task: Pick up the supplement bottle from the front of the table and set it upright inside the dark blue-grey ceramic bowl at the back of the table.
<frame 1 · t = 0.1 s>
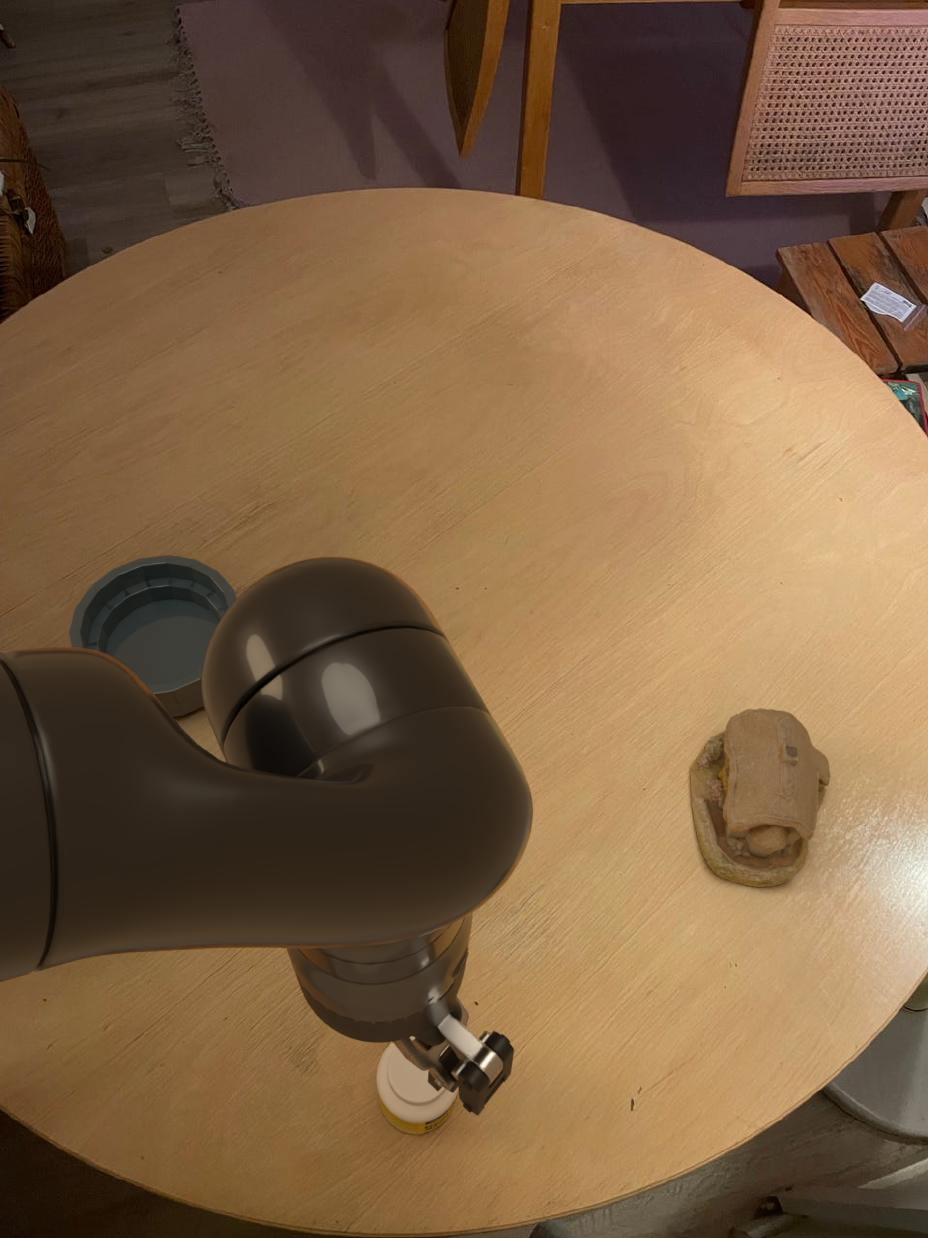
hand: (387, 1015, 56), 20 cm above the table, tool pointing down, fingers open, 8 cm apart
bowl: (167, 653, 91), on the table
supplement bottle: (417, 1094, 72), on the table
ceramic model: (754, 807, 85), on the table
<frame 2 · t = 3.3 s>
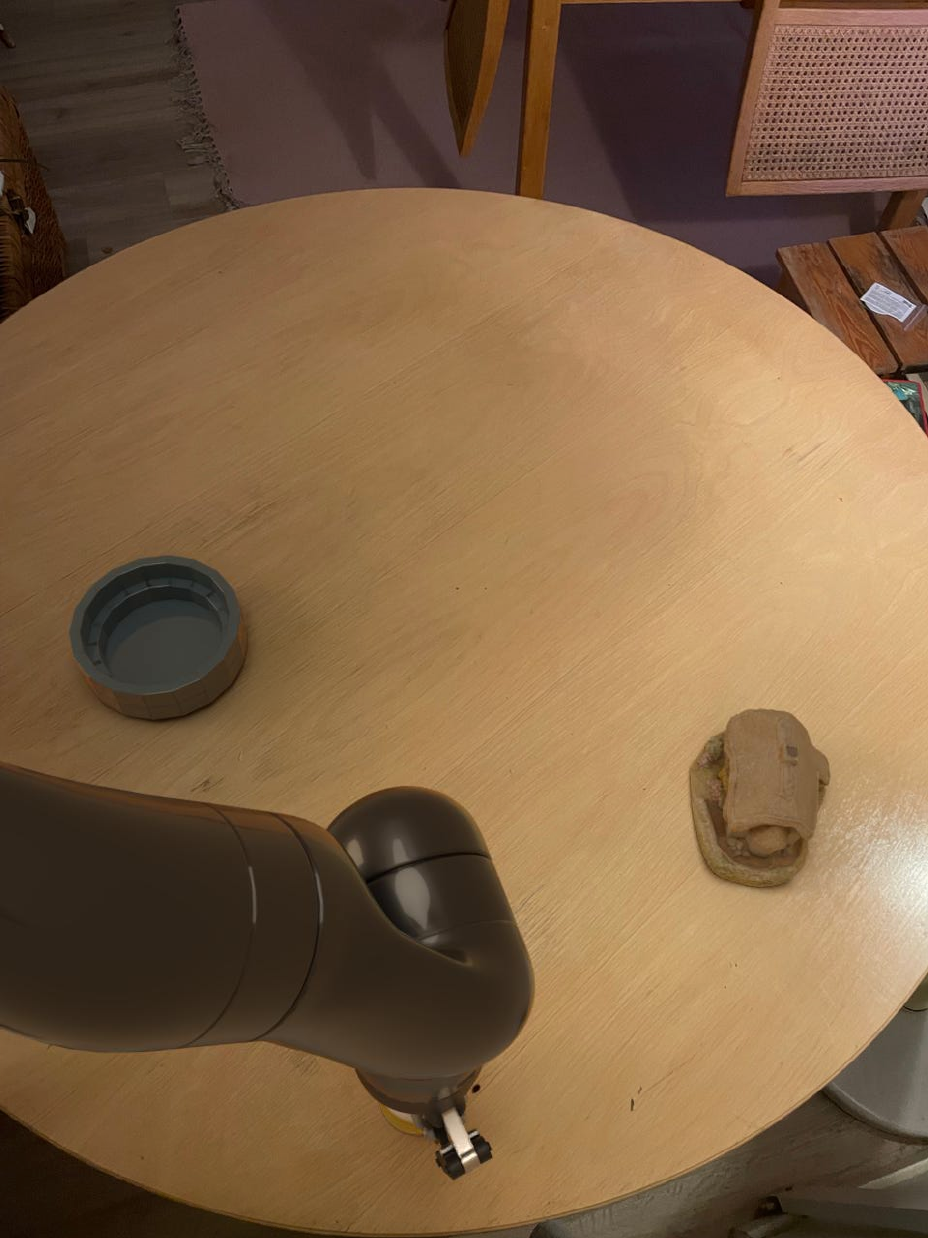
hand: (418, 1080, 67), 5 cm above the table, tool pointing down, fingers closed on supplement bottle, 5 cm apart
supplement bottle: (417, 1094, 72), on the table, touching gripper
everything else where it was.
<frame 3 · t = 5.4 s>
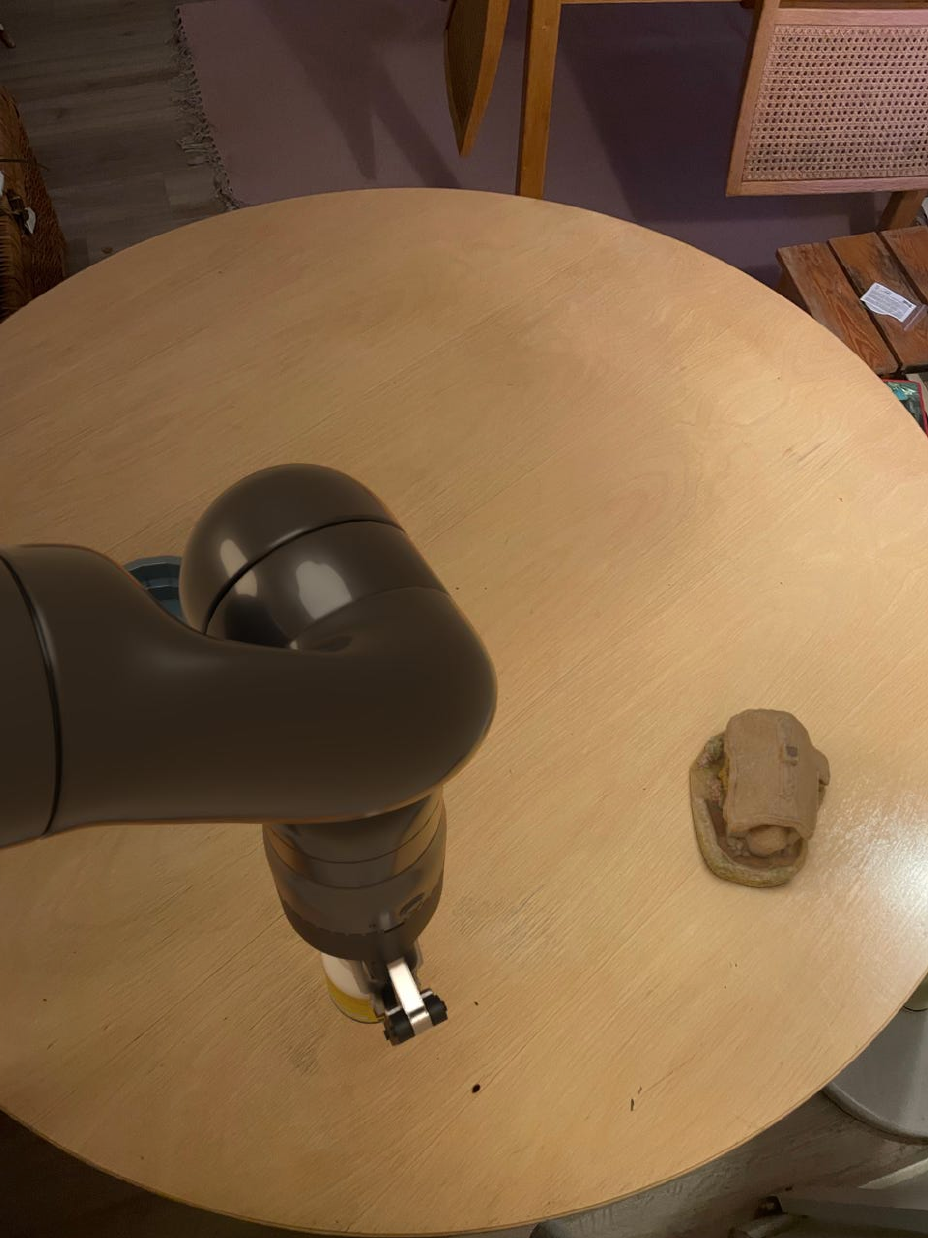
hand: (370, 955, 58), 19 cm above the table, tool pointing down, fingers closed on supplement bottle, 5 cm apart
supplement bottle: (373, 981, 63), point 14 cm above the table, touching gripper
everything else where it was.
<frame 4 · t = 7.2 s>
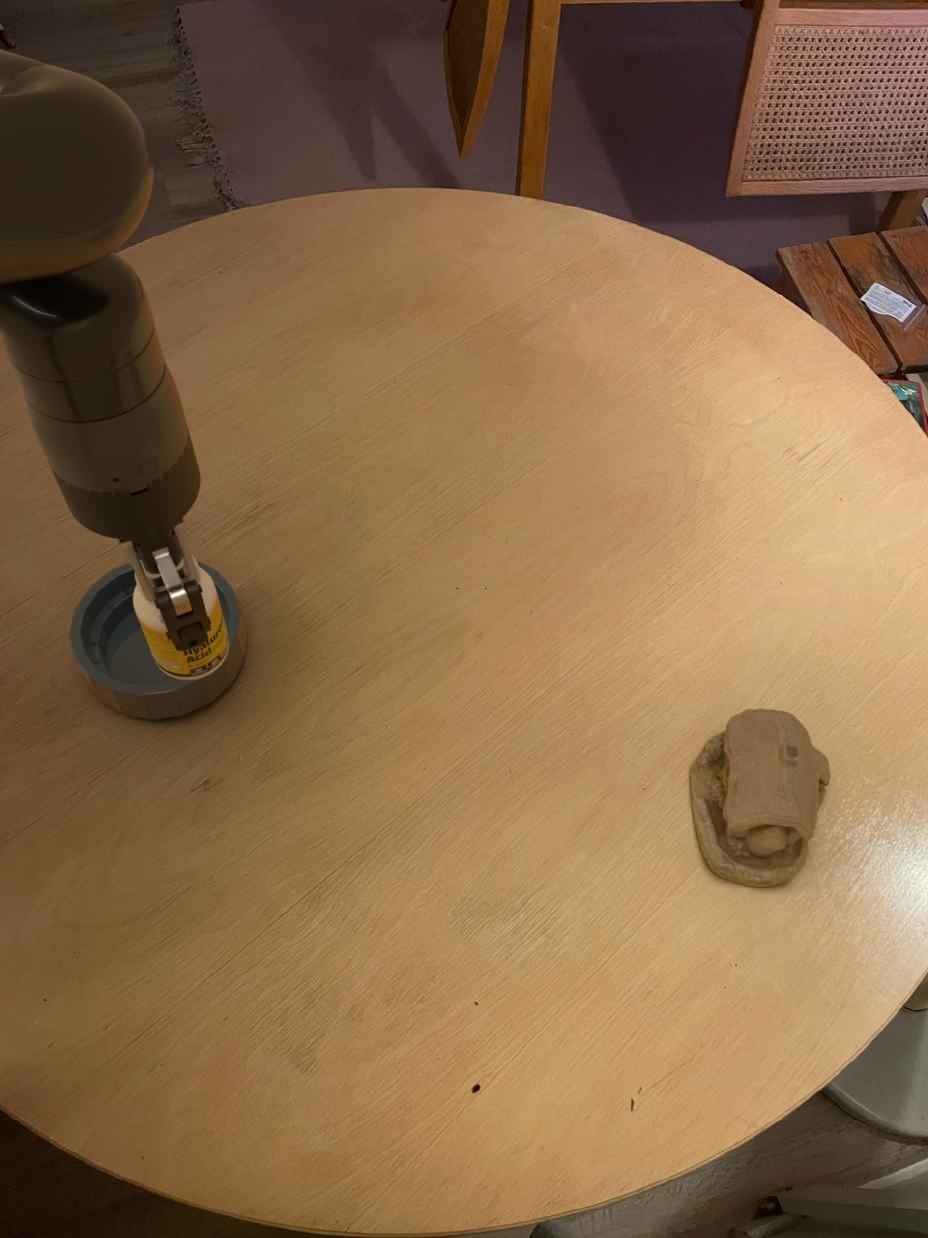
hand: (177, 607, 70), 20 cm above the table, tool pointing down, fingers closed on supplement bottle, 5 cm apart
supplement bottle: (193, 651, 74), point 14 cm above the table, touching gripper
everything else where it was.
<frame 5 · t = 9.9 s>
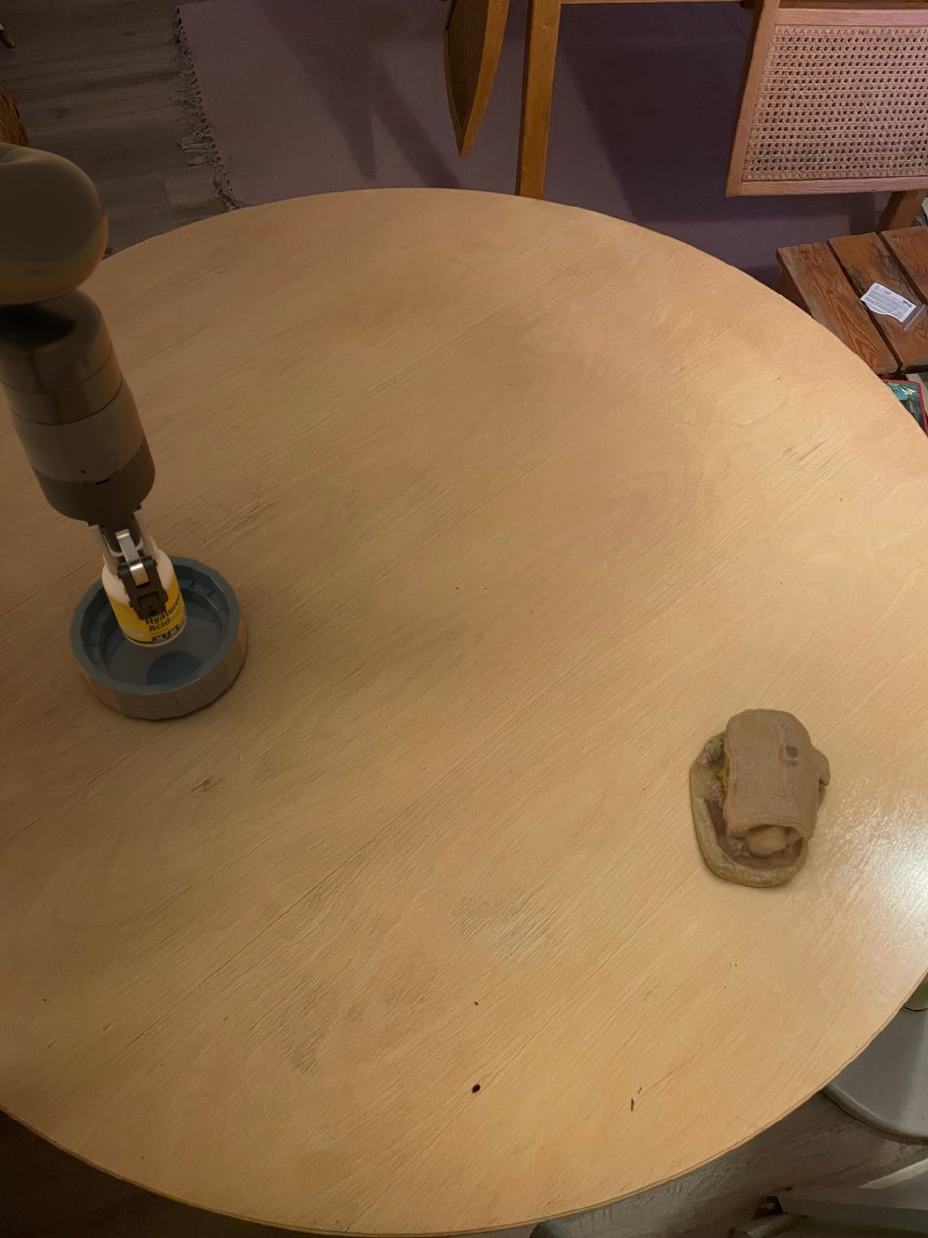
hand: (140, 584, 82), 11 cm above the table, tool pointing down, fingers closed on supplement bottle, 5 cm apart
supplement bottle: (155, 623, 86), point 5 cm above the table, touching gripper
everything else where it was.
when the fingers open (6 cm above the table, at t = 11.5 s): supplement bottle stays where it is, resting on bowl.
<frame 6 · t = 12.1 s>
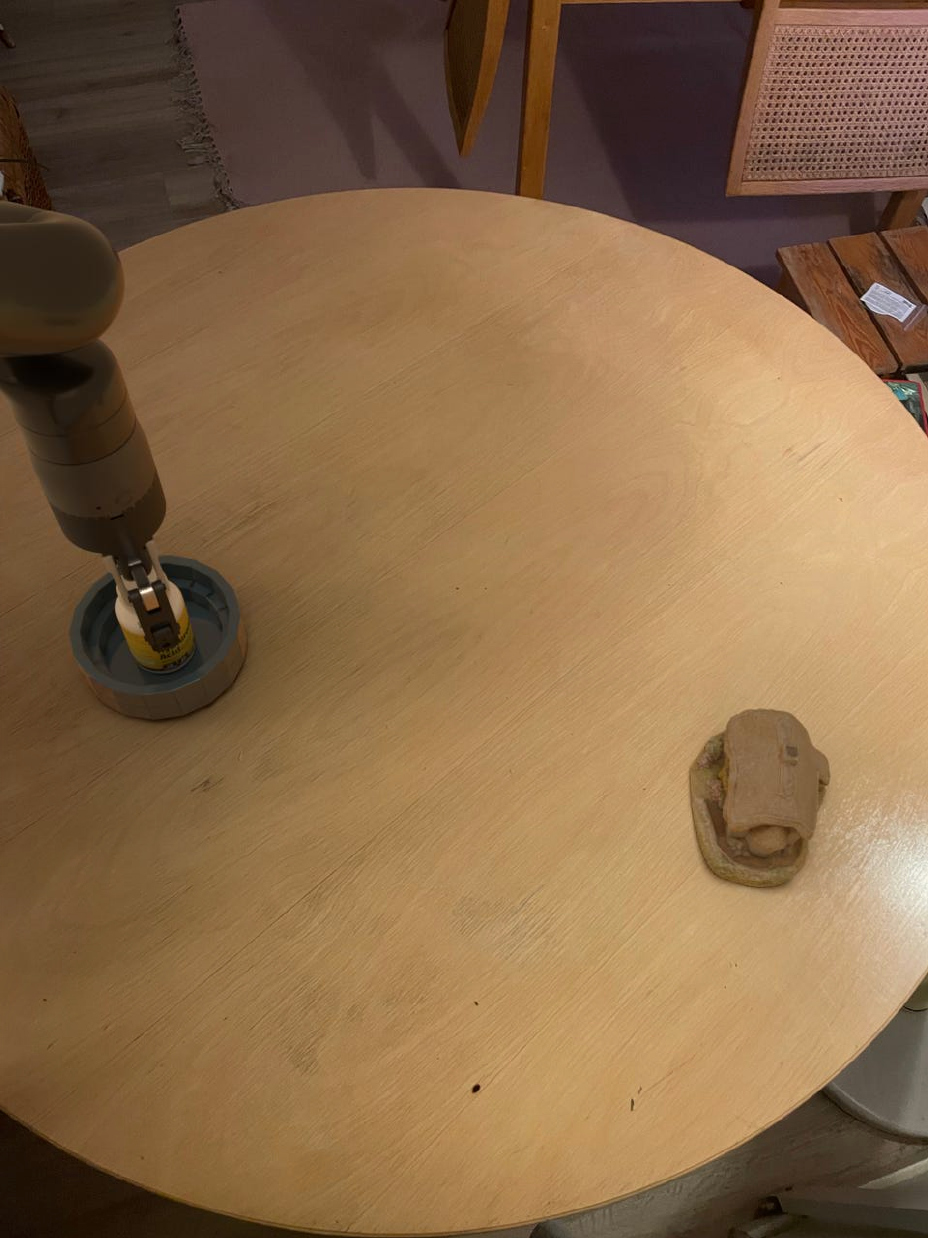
hand: (148, 604, 84), 8 cm above the table, tool pointing down, fingers open, 8 cm apart
supplement bottle: (166, 650, 90), point 1 cm above the table, touching bowl
everything else where it was.
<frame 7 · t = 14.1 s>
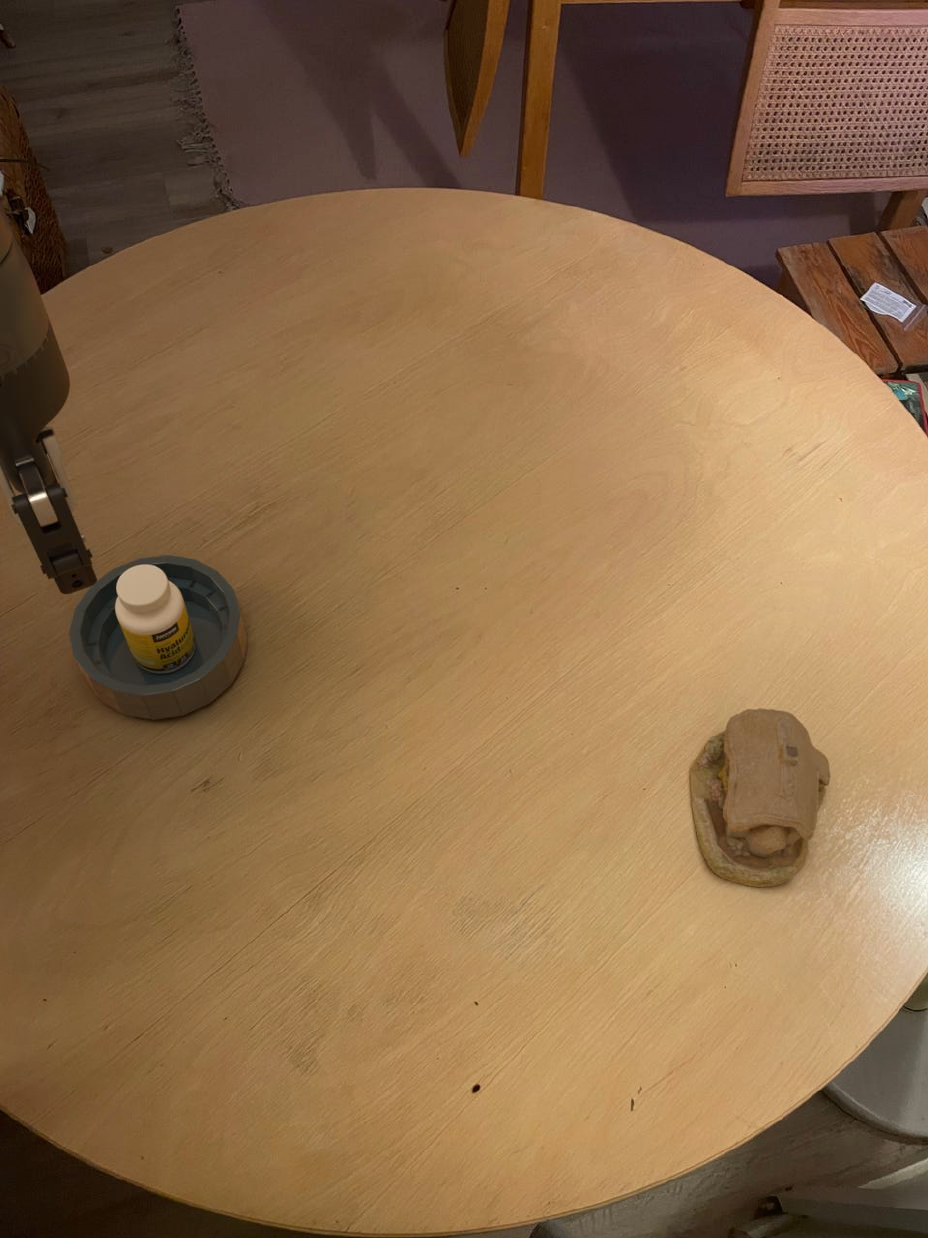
hand: (59, 535, 64), 27 cm above the table, tool pointing down, fingers open, 8 cm apart
nothing on the table moved.
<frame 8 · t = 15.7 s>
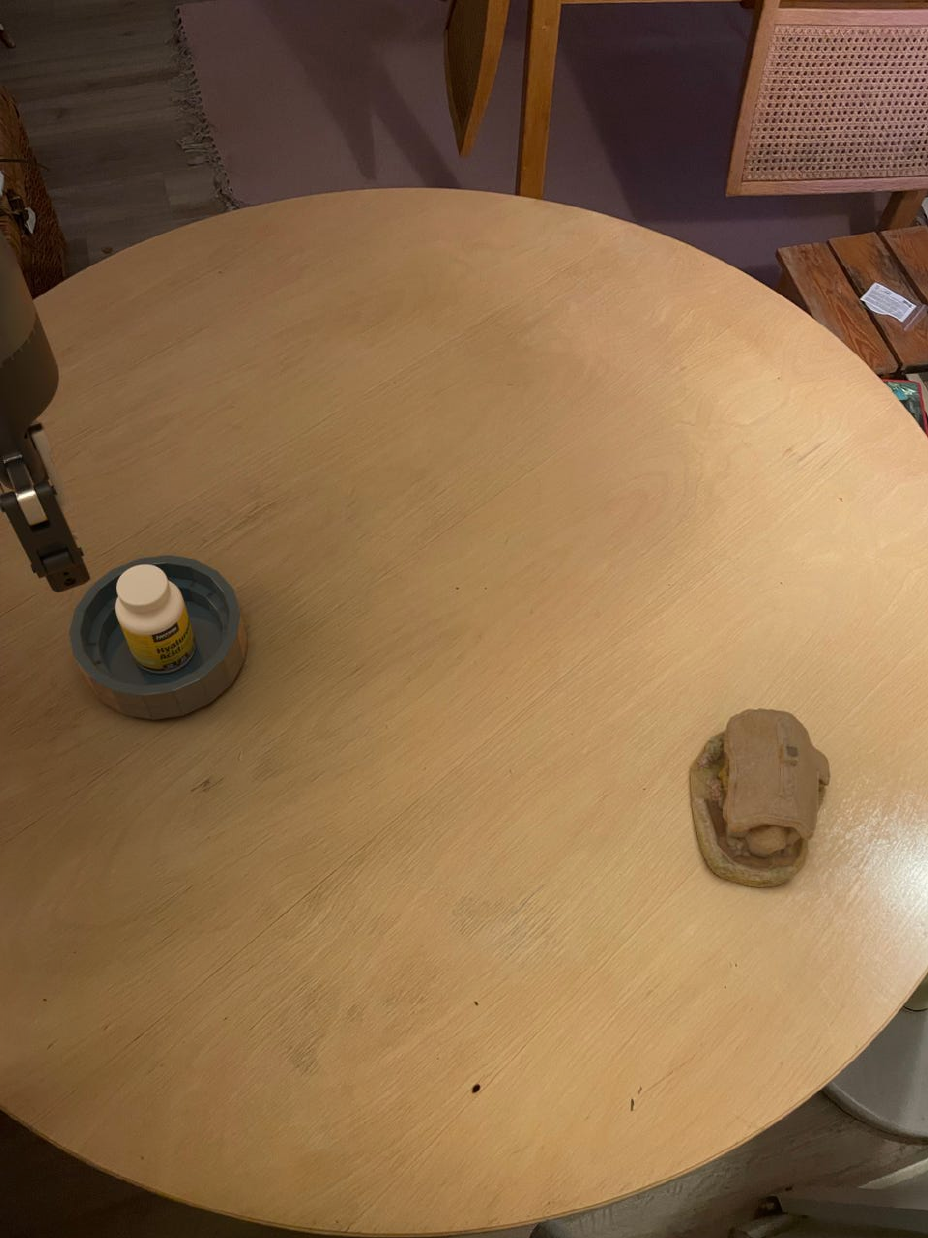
hand: (51, 531, 62), 28 cm above the table, tool pointing down, fingers open, 8 cm apart
nothing on the table moved.
at the end: supplement bottle inside the target area in the bowl (0.1 cm from its centre), point 0.6 cm above the bowl's base; supplement bottle tilted 0°; the gripper is holding nothing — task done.
